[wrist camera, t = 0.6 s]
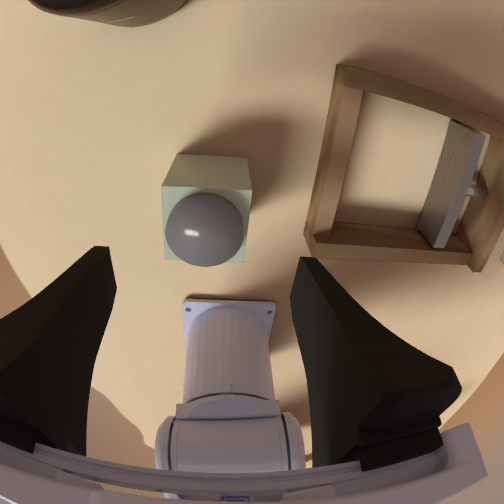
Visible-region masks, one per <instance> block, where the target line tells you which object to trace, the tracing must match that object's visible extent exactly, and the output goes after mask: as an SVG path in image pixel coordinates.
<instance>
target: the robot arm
mask: <svg viewBox="0 0 504 504" xmlns="http://www.w3.org/2000/svg"><path fill="white" fill-rule="evenodd" d="M116 289H117V286H116V281H115V276H114V271H113V266H112V261H111V256H110V250H109V247H104V246H94V247H93V248H91V249H90V250H89V251H88V252H86V253H85V254H84V255H83V256H82V257H81V258H80V259H78V260H77V261H76V262H75V263H74V264H73V265H72V266H70V267H69V268H68V269H67V270H66V271H65V272H64V273H63V274H61V275H60V276H59V277H58V278H57V279H55V280H54V281H53V282H52V283H51V284H49V285H48V286H47V287H46V288H45V289H43V290H42V291H41V292H40V293H38V294H37V295H36V296H35V297H33V298H32V299H30V300H29V301H28V302H26V303H25V304H24V305H22V306H21V307H19V308H18V309H16V310H14V311H13V312H11V313H10V314H8V315H6V316H5V317H4V318H2V319H0V498H2V499H4V500H6V501H8V502H10V503H12V504H437V503H439V502H441V501H443V500H445V499H447V498H449V497H451V496H453V495H455V494H457V493H459V492H461V491H463V490H465V489H467V488H469V487H470V486H473V485H474V484H476V483H478V482H480V481H482V480H483V479H485V478H486V477H487V476H488V474H487V471H486V468H485V465H484V462H483V459H482V456H481V453H480V450H479V447H478V445H477V442H476V439H475V437H474V434H473V431H472V429H471V426H470V424H469V423H464V424H462V425H459V426H456V427H454V428H451V429H449V430H446V431H444V432H442V433H441V434H440V432H439V430H438V427H439V426H441V423H442V422H441V420H440V417H439V415H441V414H442V413H443V412H444V411H445V410H446V409H447V408H448V407H449V406H450V405H452V404H453V403H454V402H455V400H456V399H457V398H458V397H459V395H460V393H461V391H462V387H461V384H460V382H459V380H458V378H457V376H456V374H455V372H454V370H453V368H452V367H451V366H449V365H447V364H445V363H443V362H441V361H439V360H437V359H434V358H432V357H430V356H429V355H427V354H425V353H423V352H422V351H420V350H418V349H416V348H415V347H413V346H411V345H410V344H408V343H407V342H405V341H404V340H402V339H401V338H399V337H398V336H397V335H395V334H394V333H392V332H391V331H390V330H388V329H387V328H386V327H384V326H383V325H382V324H381V323H380V322H378V321H377V320H376V319H375V318H374V317H372V316H371V315H370V314H369V313H368V312H367V311H366V310H365V309H364V308H362V307H361V306H360V305H359V304H358V303H357V302H356V301H355V300H354V299H353V298H352V297H351V296H350V295H349V294H348V293H347V292H346V290H345V289H344V288H343V287H342V286H341V285H340V284H339V283H338V282H337V281H336V280H335V278H334V277H333V276H332V275H331V274H330V273H329V272H328V271H327V269H326V268H325V267H324V266H323V265H322V264H321V263H320V262H319V261H318V260H317V259H316V258H315V257H300V259H299V263H298V267H297V271H296V275H295V279H294V283H293V287H292V291H291V295H290V301H291V311H292V318H293V323H294V327H295V331H296V335H297V339H298V343H299V347H300V351H301V355H302V359H303V363H304V368H305V373H306V378H307V386H308V395H309V404H310V415H311V431H312V461H313V462H312V468H307V469H306V461H305V448H304V441H303V435H302V431H301V427H300V424H299V421H298V420H297V419H296V418H295V417H294V416H292V414H291V413H290V412H283V413H281V411H280V403H279V401H278V400H275V394H274V386H273V378H272V370H271V362H270V354H269V347H268V341H269V337H270V333H271V328H272V324H273V320H274V315H275V311H276V304H275V303H274V302H262V301H231V300H207V299H184V300H183V304H182V307H183V322H184V336H185V348H186V365H185V378H184V392H183V404H177V405H176V416H168V417H167V418H166V419H165V420H164V422H163V423H162V424H161V425H160V426H159V428H158V431H157V435H156V442H155V463H156V469H153V468H145V467H138V466H131V465H125V464H119V463H114V462H108V461H103V460H99V459H94V458H89V457H86V427H87V411H88V402H89V393H90V386H91V380H92V374H93V368H94V364H95V360H96V356H97V353H98V350H99V347H100V344H101V341H102V338H103V335H104V332H105V329H106V326H107V323H108V320H109V317H110V314H111V311H112V308H113V303H114V299H115V294H116ZM188 308H189V309H188ZM83 478H84V479H83ZM86 479H88V480H86ZM89 480H92V481H96V482H101V483H105V484H110V485H115V486H120V487H126V488H132V489H139V490H146V491H153V492H161V493H164V496H165V498H158V497H150V496H143V495H136V494H130V493H124V492H118V491H111V490H106V489H104V488H102V486H101V485H100V484H98V483H95V482H92V481H89Z"/></svg>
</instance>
